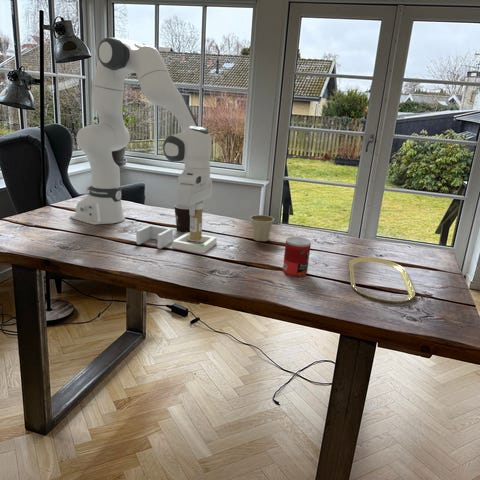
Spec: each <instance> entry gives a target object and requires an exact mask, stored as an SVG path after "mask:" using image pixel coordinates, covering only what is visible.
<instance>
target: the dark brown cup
mask: <svg viewBox="0 0 480 480" xmlns="http://www.w3.org/2000/svg"><path fill="white" fill-rule="evenodd" d="M173 207H174V215H175V225H176V226H175V227H176V232H179V233H182V234H185V233H187V232H189V233H190V214H189V212H190V211H189V208H188V207H185V206H181V205H180V203H177V204H175V205H174V206H173Z"/></svg>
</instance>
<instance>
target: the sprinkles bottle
mask: <svg viewBox="0 0 480 480" xmlns="http://www.w3.org/2000/svg"><path fill="white" fill-rule="evenodd" d="M194 208H195V210H196V215H194V216H190V232H189V233H190V239H191V240H194V241H193V242H197V241H199V240H201V239H202V235H203V234H202V232H203V231H202V230H203V211H202V210H204V205H203V203H200V202H198V203H196V204H195V207H194ZM191 240H190V241H191Z"/></svg>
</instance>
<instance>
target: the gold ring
mask: <svg viewBox="0 0 480 480" xmlns="http://www.w3.org/2000/svg"><path fill="white" fill-rule="evenodd" d="M363 262H365V263H366V262H367V263H368V262H369V263H370V262H371V263H377V264H378V263H379V264H383V265H387V266H389V267H391V268H394V269H395V270H397V271H398V272H399V273H400V276H401V278H402V281H403V283H404V285H405V288H406V291H407V294H408V297H407V298H406V299H401V300H398V299H396V300H395V299H394V300H392V299H386V298H379V297H376V296H372V295H370V294H366V293H364V292H362V291H360V290H359V289H358V288H357V286H356V281H355V280H356V279H355V270H354V266H355V264H357V263H363ZM348 267H349V268H348V269H349V278H350V279H349V280H350V285H351V287H352V288H353V290H355V292H357V293H358V294H360V295H362V296H363V297H365V298H367V299H369V300H374V301H378V302H381V303H388V304H401V303H406V302H409V301H411V300H412V299H413V298H414V297H415V295H416V291H415V289H414V286H413V284H412V281H411V280H410V278H409V275H408V273H407V271H406V269H405V267H403V265H402V266H401V265H400V264H398V263H396V262H393V261H391V260H387V259H384V258H378V257H371V256H370V257H369V256H359V257H355V258H352V259H350V260H349V262H348Z"/></svg>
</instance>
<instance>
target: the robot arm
mask: <svg viewBox="0 0 480 480" xmlns="http://www.w3.org/2000/svg"><path fill="white" fill-rule="evenodd" d="M97 57H98V60H97V64H96V68H95V73H94V76H93V77H94V78H93V88H92V90H93V91H92V102H91V103H92V107H93V110H95V111H96V114H97V115H98V121H99V122H98V124H96V123H95V124H89V125H86V126H84V127H82V128H80V129H79V130H78V131H77V133H76V143H77V145H78V147H79V149H80V150H81V151H82V152H84V154H85V155H86V157H87V159H88V160H87V161H88V163H89V165H90V174H91V185H90V186H88V187H87V188H86V191H88V194H87V195H86V196H84V198H82V199H81V200H79V201H78V202H77V203H76V206H75V211H74V212H73V213H71V214H70V216H69V217H70V219H74V220H75V221H80V222H84V223H87V224H90V225H94V226H95V225H102V224H103V225H105V224H106V225H107V224H115V223H121V222H124V220H126V217H125V214H124V211H123V205H122V204H123V203H122V185H121V172H120V171H121V170H120V167H119V165H118V164H117V163H116V162H115V160H114V157H113V152H117V151H120V150H122V149H124V148H125V147H127V146H128V145H129V143H130V141H131V135H130V132H129V129H128V128H127V127H126V125H125V121H124V115H123V104H124V92H125V91H124V90H125V80H126V77H127V76H128V75H130V74H131V76H136V77H137V80H138V83H139V86H140V90H141V92H142V94H143V95H144V97H145V99H146V100H147V101H148V102H150V103H152V104H153V105H155V106H157V107H160V108H162V109H165V110H166V111H168V112H169V113H171V114H172V115H173V116H174V117H175V118H176V120H177V122H178V124H179V126H180V129H181V130H182V131H180V132H179V133H175V134H171V135H168V136H167V137H166V138H165V139H164V141H163V144H162V145H163V146H162V151H163V154H164V156H165V158H166V159H167V160H168V161H169V162H171V163H184V170H183V171H182V172H181V173H180V175H178V176H177V181H178V182H177V183H179V185H178V204H180V205H181V206H185V207H188V208H189V211H190V212H189V214H190V216H194V215H196V210H195V208H194V207H195V204H196V203H198V202H200V203H203V206H204V204H205V200H206V199H208V198H211V197H212V195H213V181H212V180H213V179H212V177H211V164H210V159H211V156H212V138H211V134H210V133H211V132H210V131H209V130H208V129H207V128H205V127H202V126H199V124H198V121H196V118H195V116H194V114H193V111H192V110H191V108H190V106H189V104H188V102H187V100H186V99H185V97H184V96H183V94H182V93H181V92H180V91H179V90H178V88H177V86H176V85H175V84H174V81H173V79H172V77H171V74H170V73H169V70H168V67H167V65H166V63H165V60H164V58H163V56H162V54H160V52H159V50H158V49H157V48H156V47H154V46H152V45H146V44H144V43H141V42H138V41H135V40H131V39H124V38H118V37H115V36H114V37H106V38H105V37H104V38H103V39H102V40H101V41H100V42H99V45H98V48H97ZM203 210H204V209H203ZM203 210H202V212H203Z"/></svg>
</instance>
